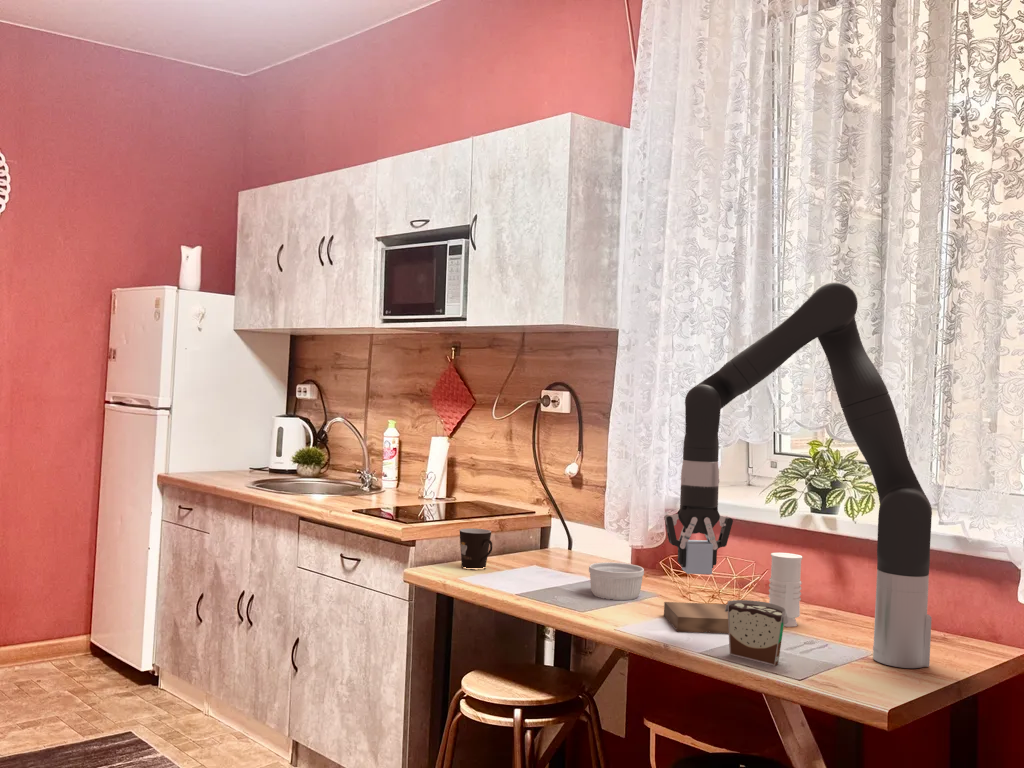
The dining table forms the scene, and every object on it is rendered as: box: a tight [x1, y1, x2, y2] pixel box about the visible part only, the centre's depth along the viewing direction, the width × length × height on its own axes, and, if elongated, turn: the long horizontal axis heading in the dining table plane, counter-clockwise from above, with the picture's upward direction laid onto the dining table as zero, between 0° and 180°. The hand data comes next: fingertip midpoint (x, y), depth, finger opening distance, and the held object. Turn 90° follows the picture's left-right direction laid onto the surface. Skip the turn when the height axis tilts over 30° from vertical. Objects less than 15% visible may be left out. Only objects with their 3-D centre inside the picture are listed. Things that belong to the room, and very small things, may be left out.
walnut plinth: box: [663, 601, 729, 634], centre depth 204 cm, size 14×14×3 cm
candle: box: [768, 552, 803, 628], centre depth 209 cm, size 7×7×15 cm
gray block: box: [681, 539, 713, 575], centre depth 191 cm, size 5×5×6 cm
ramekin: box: [588, 561, 645, 601], centre depth 229 cm, size 13×13×7 cm
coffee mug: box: [459, 527, 493, 568], centre depth 254 cm, size 12×9×10 cm
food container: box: [725, 599, 788, 667], centre depth 180 cm, size 12×6×10 cm, turn 48°
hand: (696, 566), depth 191 cm, fingers closed on gray block, 5 cm apart
